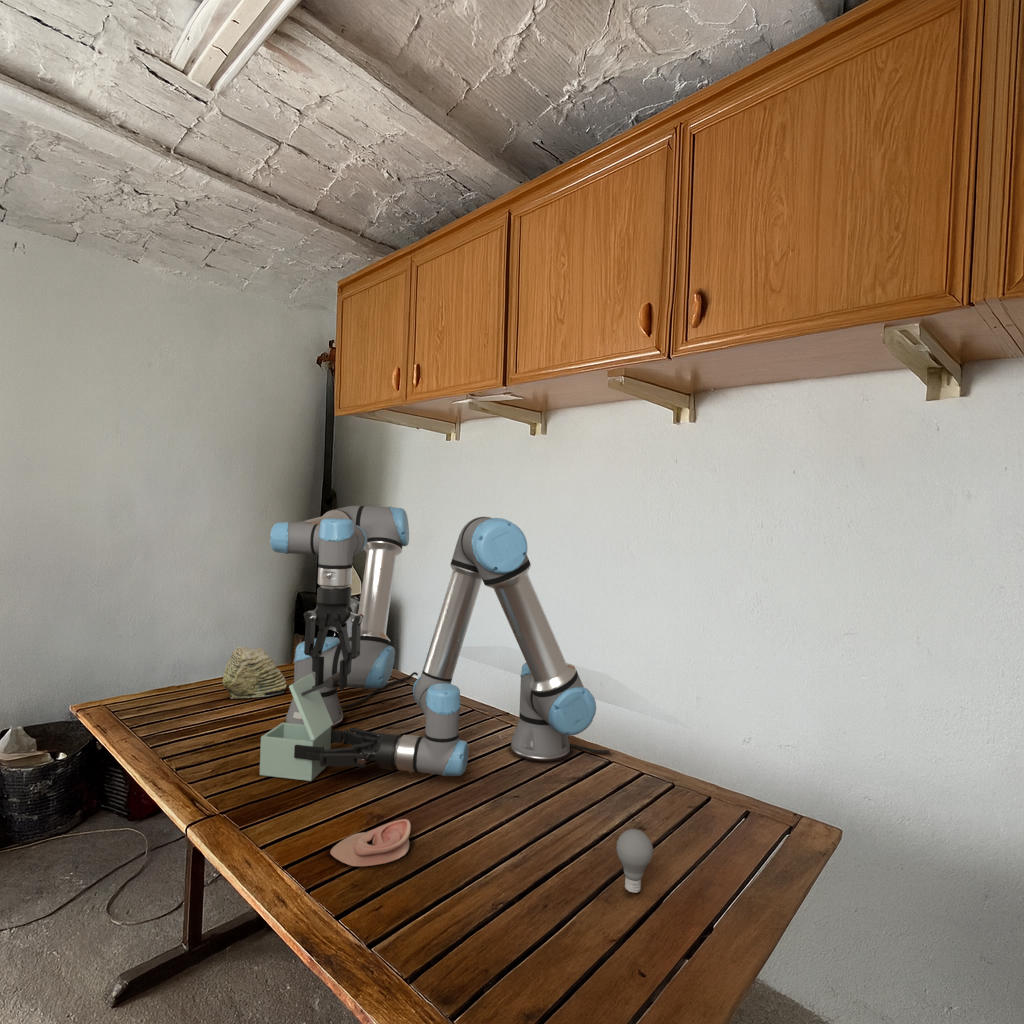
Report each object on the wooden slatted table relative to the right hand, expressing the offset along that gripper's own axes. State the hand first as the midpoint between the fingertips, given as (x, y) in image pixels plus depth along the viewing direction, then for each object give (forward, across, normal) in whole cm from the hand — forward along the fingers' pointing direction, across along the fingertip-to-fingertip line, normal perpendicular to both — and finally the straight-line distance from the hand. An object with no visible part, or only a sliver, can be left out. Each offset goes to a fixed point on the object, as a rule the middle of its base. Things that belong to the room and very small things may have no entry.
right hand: (305, 742), depth 146 cm
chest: (+2, 0, -6) cm, 7 cm away
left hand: (-5, 0, +13) cm, 14 cm away
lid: (-1, 0, +8) cm, 8 cm away
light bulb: (-73, -30, -6) cm, 79 cm away
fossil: (+40, +47, -6) cm, 62 cm away
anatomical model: (-27, -28, -6) cm, 39 cm away
